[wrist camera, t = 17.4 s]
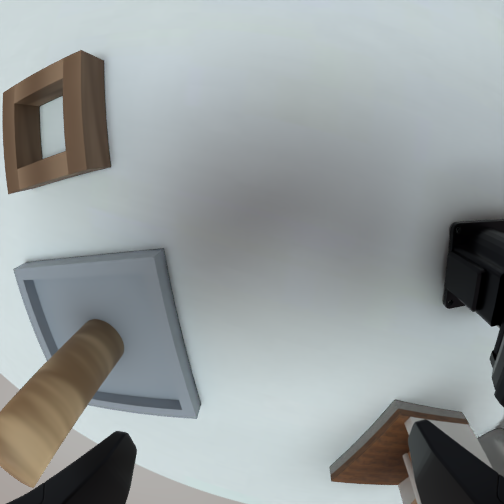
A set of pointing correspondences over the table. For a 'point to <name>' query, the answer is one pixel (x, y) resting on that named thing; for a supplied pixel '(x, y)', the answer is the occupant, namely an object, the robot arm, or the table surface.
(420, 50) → the table surface
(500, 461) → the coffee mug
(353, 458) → the spiral staircase model
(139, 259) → the plastic tray
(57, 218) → the table surface
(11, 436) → the oak dowel
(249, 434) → the table surface
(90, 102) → the walnut holder
